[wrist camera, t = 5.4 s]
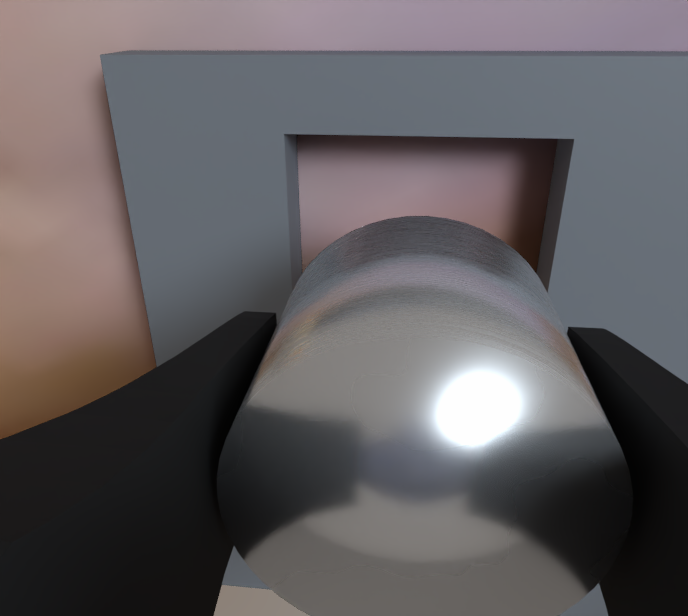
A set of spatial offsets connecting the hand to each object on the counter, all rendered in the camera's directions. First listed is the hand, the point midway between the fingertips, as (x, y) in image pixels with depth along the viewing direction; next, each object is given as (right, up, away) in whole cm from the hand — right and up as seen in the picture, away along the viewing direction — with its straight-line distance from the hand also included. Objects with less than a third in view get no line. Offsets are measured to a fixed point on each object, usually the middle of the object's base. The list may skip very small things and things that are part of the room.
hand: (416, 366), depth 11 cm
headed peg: (0, +1, +2) cm, 2 cm away
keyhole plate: (+1, -1, +7) cm, 7 cm away
